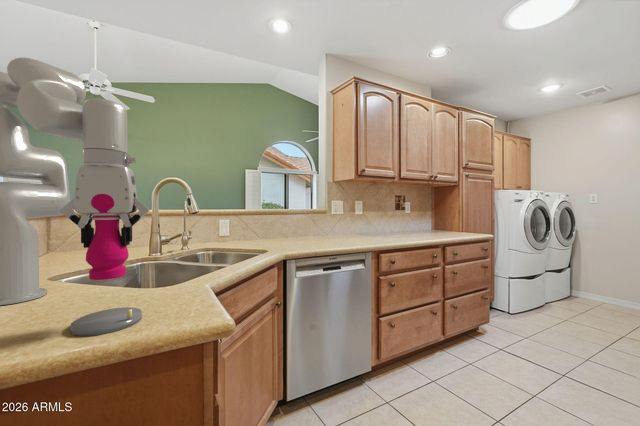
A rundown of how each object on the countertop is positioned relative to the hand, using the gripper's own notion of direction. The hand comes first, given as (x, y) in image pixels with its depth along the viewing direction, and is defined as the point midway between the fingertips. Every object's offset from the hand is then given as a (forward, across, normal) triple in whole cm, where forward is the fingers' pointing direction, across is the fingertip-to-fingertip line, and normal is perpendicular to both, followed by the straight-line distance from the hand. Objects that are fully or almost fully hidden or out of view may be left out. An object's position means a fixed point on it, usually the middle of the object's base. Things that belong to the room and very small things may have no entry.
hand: (107, 245), depth 58 cm
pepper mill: (+7, 0, 0) cm, 7 cm away
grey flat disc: (+17, 0, 0) cm, 17 cm away
